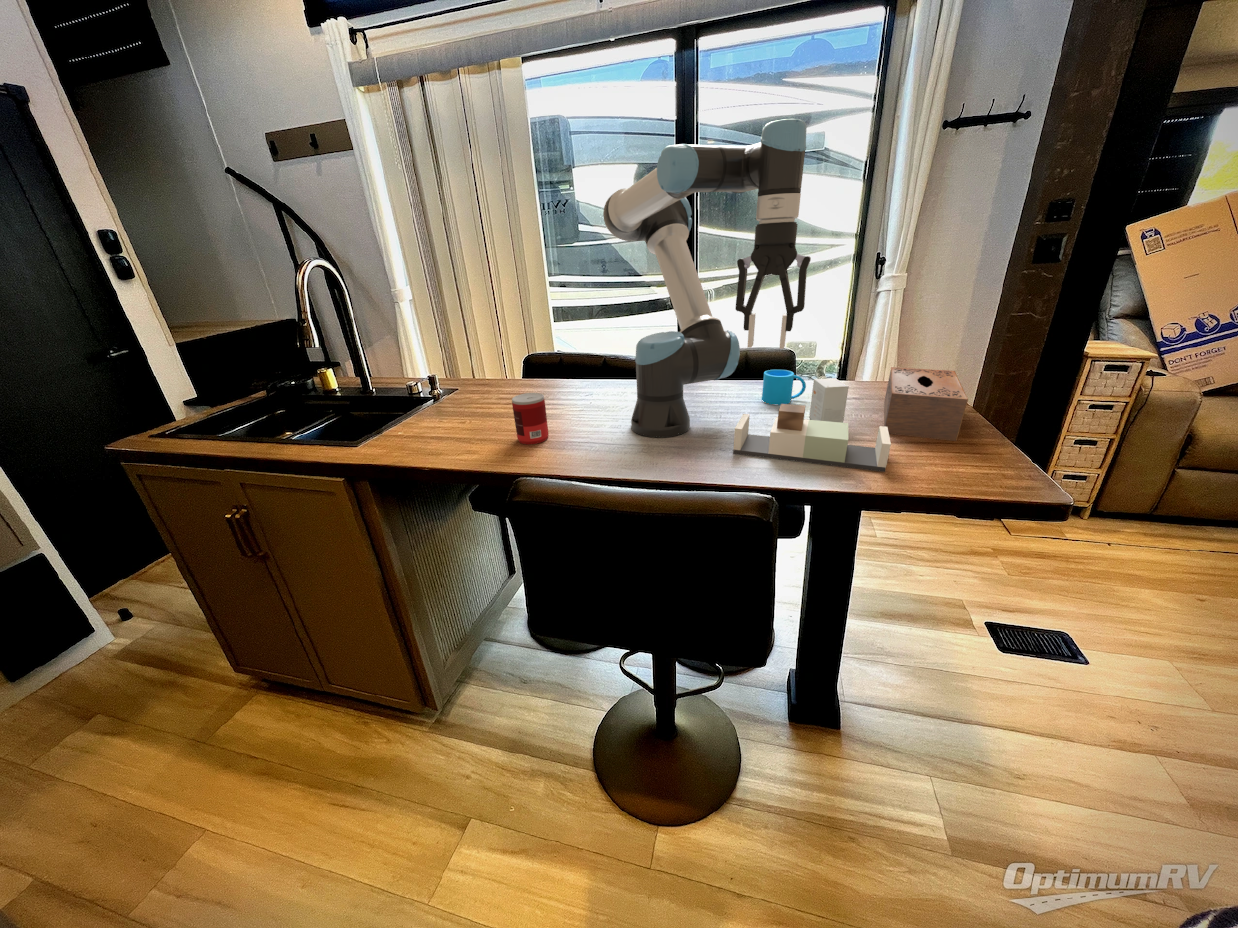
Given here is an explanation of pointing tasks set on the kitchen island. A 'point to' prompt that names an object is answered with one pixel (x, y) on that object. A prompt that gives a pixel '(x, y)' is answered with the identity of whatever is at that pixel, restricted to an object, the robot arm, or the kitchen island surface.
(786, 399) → the mug
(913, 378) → the tissue box cover
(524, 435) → the canned food
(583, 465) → the kitchen island surface
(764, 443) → the board
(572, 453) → the kitchen island surface
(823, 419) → the small box
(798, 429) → the walnut block
